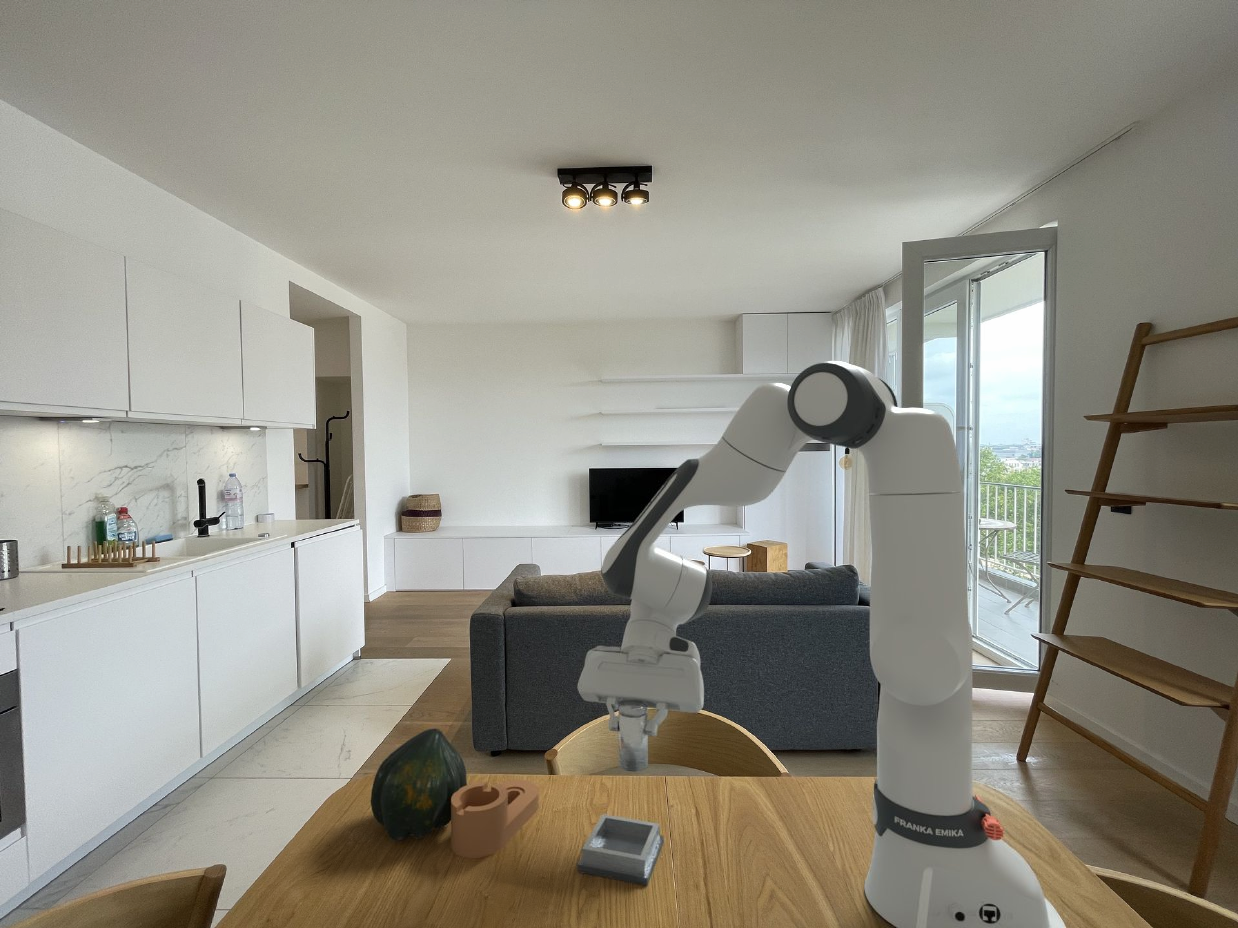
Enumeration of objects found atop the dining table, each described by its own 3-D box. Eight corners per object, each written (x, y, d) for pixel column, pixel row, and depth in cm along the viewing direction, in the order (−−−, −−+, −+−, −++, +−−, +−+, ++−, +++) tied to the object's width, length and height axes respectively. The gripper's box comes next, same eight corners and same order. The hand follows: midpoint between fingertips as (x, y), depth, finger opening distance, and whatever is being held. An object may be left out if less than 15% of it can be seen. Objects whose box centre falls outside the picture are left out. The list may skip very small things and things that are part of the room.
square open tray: (663, 842, 92) (663, 822, 92) (647, 885, 83) (647, 862, 83) (600, 831, 95) (600, 811, 95) (577, 871, 86) (577, 849, 86)
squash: (337, 818, 89) (409, 736, 90) (369, 772, 104) (431, 702, 105) (412, 881, 89) (482, 798, 91) (433, 826, 104) (493, 756, 106)
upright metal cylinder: (650, 759, 95) (650, 701, 96) (643, 773, 91) (643, 712, 91) (623, 756, 97) (623, 698, 97) (615, 769, 93) (614, 709, 93)
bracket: (487, 864, 87) (487, 815, 87) (439, 851, 90) (439, 804, 91) (547, 801, 104) (547, 760, 104) (505, 791, 107) (505, 752, 107)
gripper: (584, 635, 104) (562, 715, 94) (705, 644, 98) (694, 730, 88) (593, 654, 108) (573, 732, 99) (709, 664, 102) (700, 748, 93)
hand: (631, 732), depth 93 cm, fingers closed on upright metal cylinder, 4 cm apart
